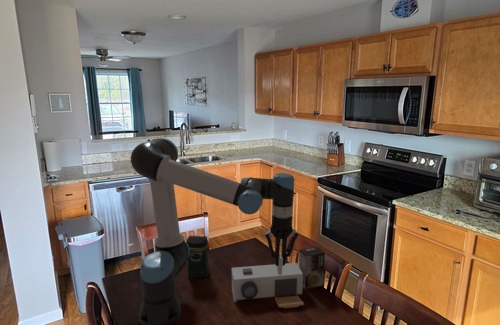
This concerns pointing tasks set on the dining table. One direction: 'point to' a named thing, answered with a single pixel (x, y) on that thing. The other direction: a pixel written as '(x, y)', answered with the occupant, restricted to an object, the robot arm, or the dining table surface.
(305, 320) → the dining table surface
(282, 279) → the box
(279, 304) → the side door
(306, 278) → the coffee box
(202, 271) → the coffee jar
